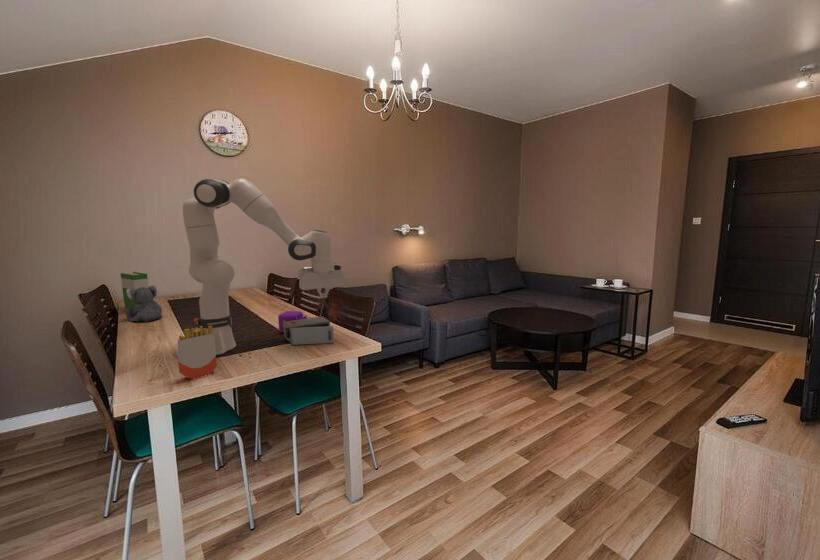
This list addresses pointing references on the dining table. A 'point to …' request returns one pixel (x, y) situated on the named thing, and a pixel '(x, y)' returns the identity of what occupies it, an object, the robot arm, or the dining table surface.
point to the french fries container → (197, 352)
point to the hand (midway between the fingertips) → (323, 297)
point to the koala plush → (144, 304)
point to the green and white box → (132, 286)
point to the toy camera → (289, 318)
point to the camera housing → (304, 324)
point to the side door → (312, 335)
